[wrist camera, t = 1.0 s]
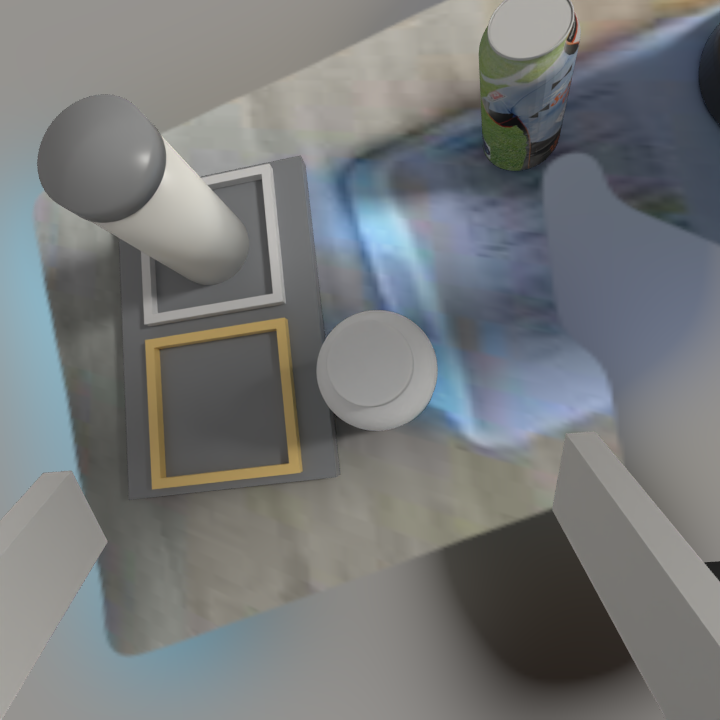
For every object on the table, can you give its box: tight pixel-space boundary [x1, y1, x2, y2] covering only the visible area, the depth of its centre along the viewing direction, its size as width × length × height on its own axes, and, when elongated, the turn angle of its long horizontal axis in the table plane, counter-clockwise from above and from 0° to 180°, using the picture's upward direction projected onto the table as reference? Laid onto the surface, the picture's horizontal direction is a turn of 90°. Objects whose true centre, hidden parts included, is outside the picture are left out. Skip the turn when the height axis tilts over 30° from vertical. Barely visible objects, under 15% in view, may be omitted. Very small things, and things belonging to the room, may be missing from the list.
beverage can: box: [479, 0, 581, 171], centre depth 31 cm, size 6×7×12 cm
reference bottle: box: [37, 94, 249, 285], centre depth 32 cm, size 7×7×14 cm
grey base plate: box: [119, 156, 340, 500], centre depth 38 cm, size 18×28×2 cm, turn 7°
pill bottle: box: [316, 310, 438, 431], centre depth 29 cm, size 8×7×14 cm
